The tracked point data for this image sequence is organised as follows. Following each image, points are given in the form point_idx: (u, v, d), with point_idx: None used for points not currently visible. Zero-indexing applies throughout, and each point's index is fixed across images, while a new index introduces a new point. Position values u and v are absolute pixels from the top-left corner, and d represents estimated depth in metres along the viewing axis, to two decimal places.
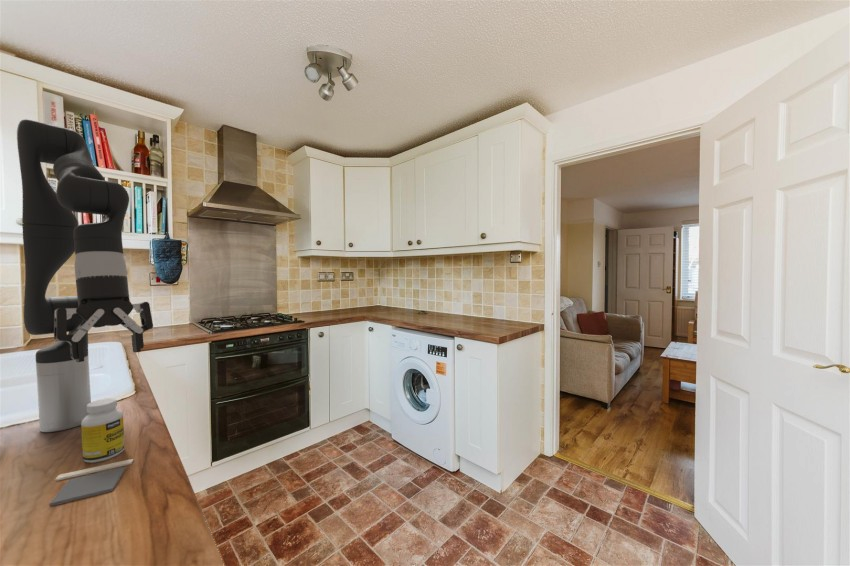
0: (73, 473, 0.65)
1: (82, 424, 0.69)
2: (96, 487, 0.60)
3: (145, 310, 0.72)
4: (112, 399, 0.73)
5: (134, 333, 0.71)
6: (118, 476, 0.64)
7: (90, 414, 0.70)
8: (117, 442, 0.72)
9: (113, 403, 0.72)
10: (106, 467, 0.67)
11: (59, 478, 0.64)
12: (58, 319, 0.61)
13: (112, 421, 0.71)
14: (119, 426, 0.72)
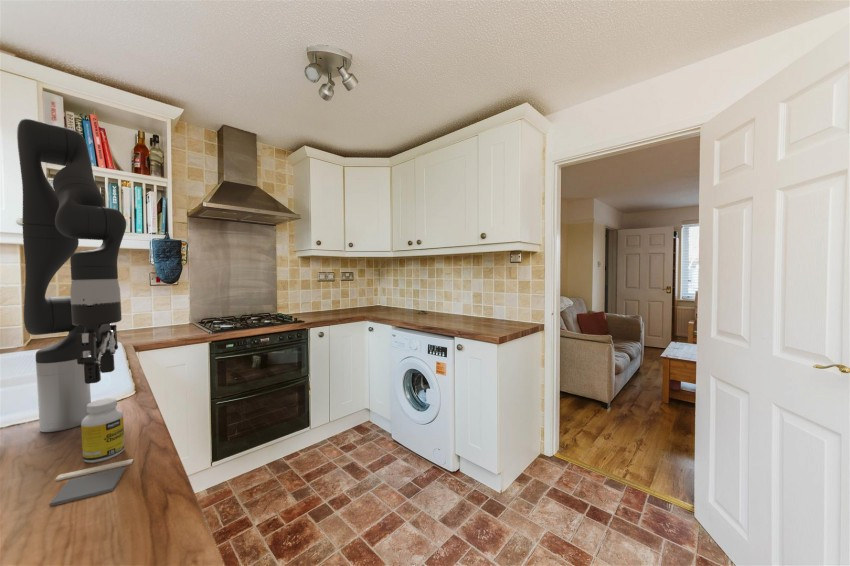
0: (73, 473, 0.65)
1: (82, 424, 0.69)
2: (96, 487, 0.60)
3: (115, 332, 0.77)
4: (112, 399, 0.73)
5: (107, 354, 0.75)
6: (118, 476, 0.64)
7: (90, 414, 0.70)
8: (117, 442, 0.72)
9: (113, 403, 0.72)
10: (106, 467, 0.67)
11: (59, 478, 0.64)
12: (93, 343, 0.66)
13: (112, 421, 0.71)
14: (119, 426, 0.72)
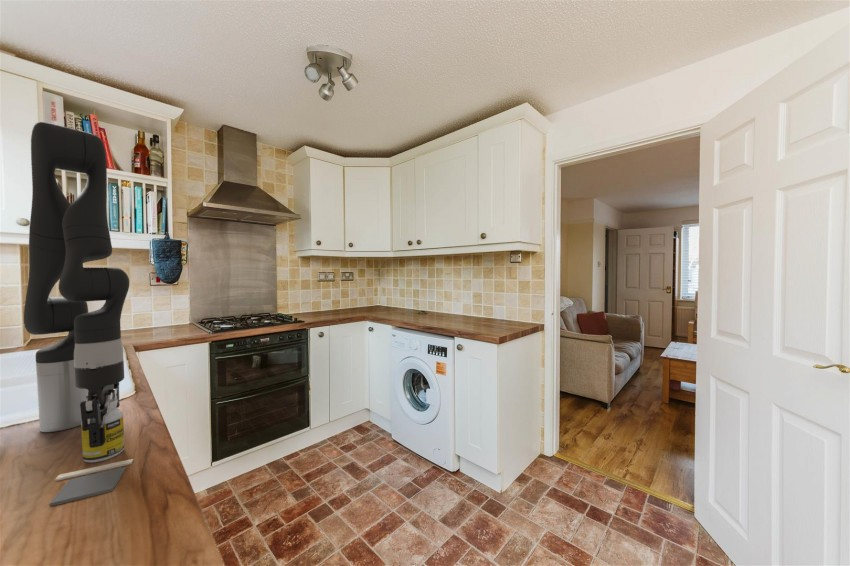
0: (73, 473, 0.65)
1: None
2: (96, 487, 0.60)
3: (117, 389, 0.77)
4: (112, 399, 0.73)
5: None
6: (118, 476, 0.64)
7: None
8: (117, 442, 0.72)
9: (113, 403, 0.72)
10: (106, 467, 0.67)
11: (59, 478, 0.64)
12: (97, 410, 0.66)
13: (112, 421, 0.71)
14: (119, 426, 0.72)
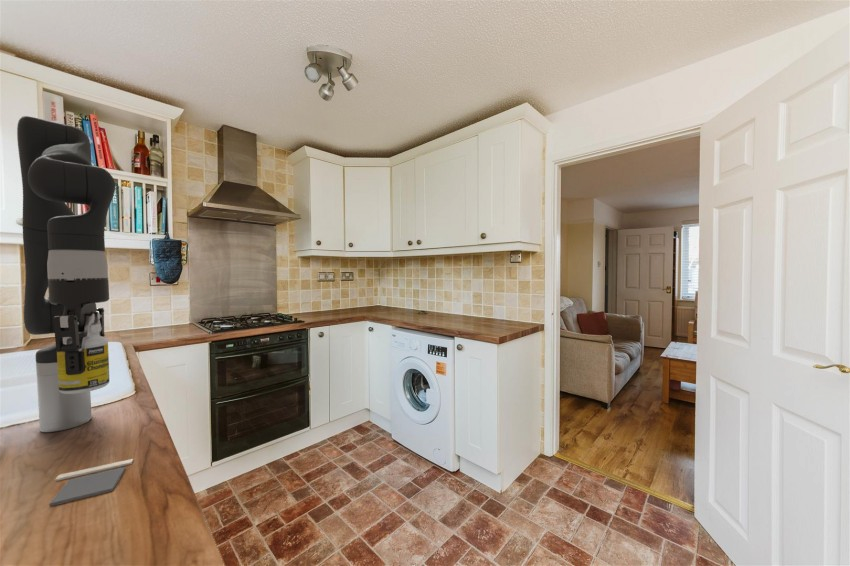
0: (73, 473, 0.65)
1: None
2: (96, 487, 0.60)
3: (102, 317, 0.66)
4: (95, 323, 0.62)
5: None
6: (118, 476, 0.64)
7: None
8: (101, 373, 0.60)
9: (96, 326, 0.60)
10: (106, 467, 0.67)
11: (59, 478, 0.64)
12: (75, 328, 0.55)
13: (94, 346, 0.59)
14: (103, 355, 0.61)
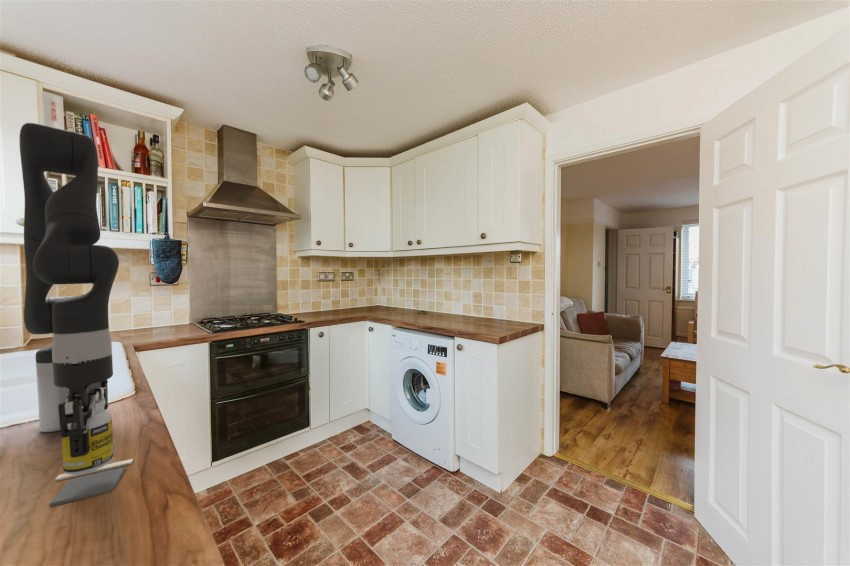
0: None
1: None
2: (96, 487, 0.60)
3: (105, 388, 0.66)
4: (99, 400, 0.62)
5: None
6: (118, 476, 0.64)
7: None
8: (105, 451, 0.61)
9: (100, 404, 0.61)
10: (106, 467, 0.67)
11: (59, 478, 0.64)
12: (79, 413, 0.56)
13: (98, 425, 0.60)
14: (107, 432, 0.61)
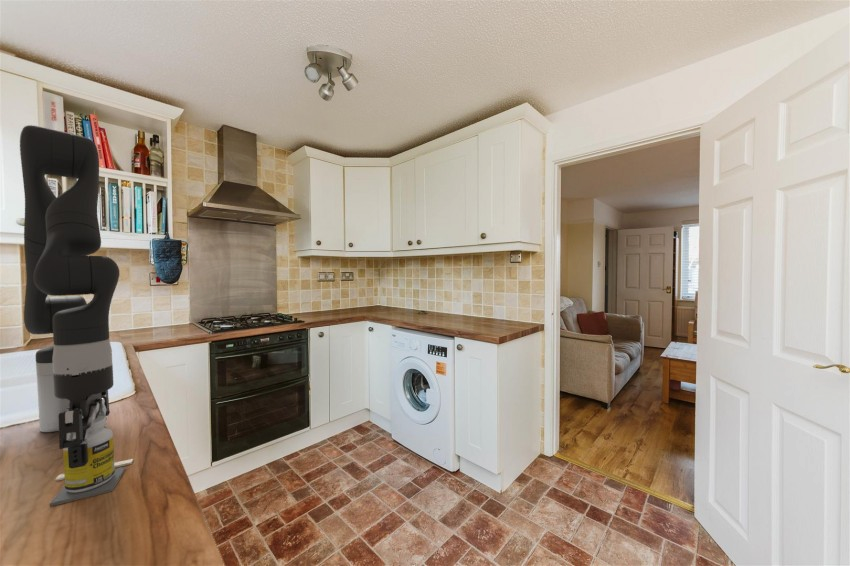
0: None
1: (64, 448, 0.59)
2: (96, 487, 0.60)
3: (106, 396, 0.67)
4: (100, 417, 0.63)
5: None
6: (118, 476, 0.64)
7: (73, 435, 0.59)
8: (106, 468, 0.61)
9: (101, 422, 0.61)
10: None
11: (59, 478, 0.64)
12: (79, 422, 0.55)
13: (100, 443, 0.60)
14: (108, 449, 0.62)
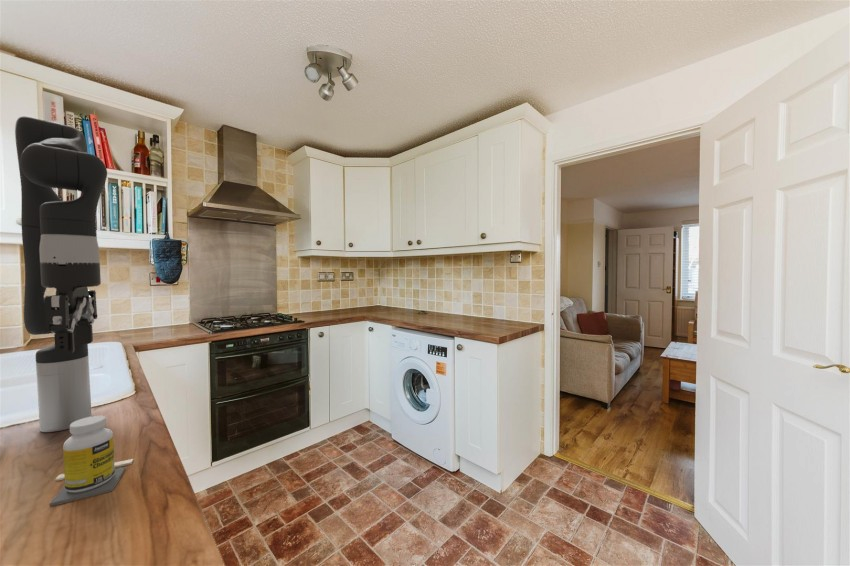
0: None
1: (64, 448, 0.59)
2: (96, 487, 0.60)
3: (94, 299, 0.68)
4: (101, 417, 0.63)
5: (84, 323, 0.66)
6: (118, 476, 0.64)
7: (74, 435, 0.59)
8: (106, 468, 0.61)
9: (101, 422, 0.61)
10: None
11: (59, 478, 0.64)
12: (65, 307, 0.56)
13: (100, 443, 0.60)
14: (108, 449, 0.62)
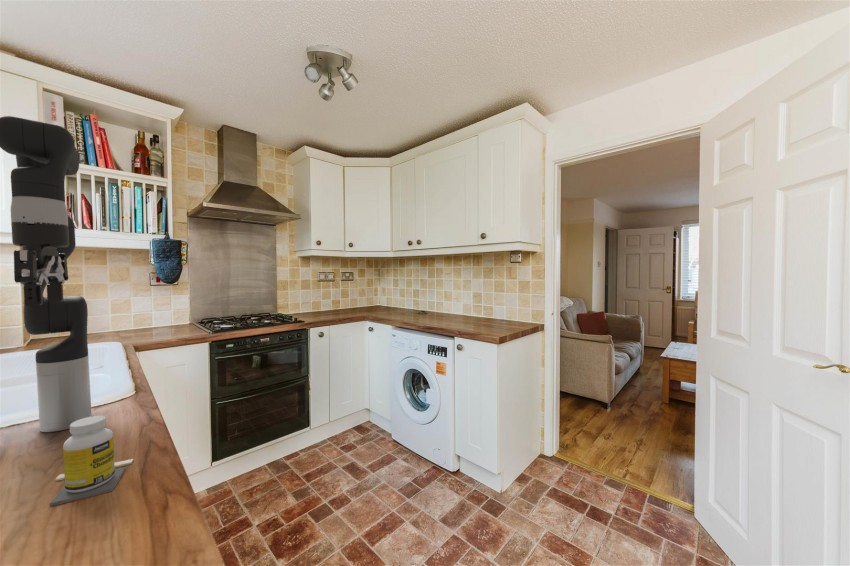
0: None
1: (64, 447, 0.59)
2: (96, 487, 0.60)
3: (65, 262, 0.73)
4: (101, 417, 0.63)
5: (55, 283, 0.71)
6: (118, 476, 0.64)
7: (74, 435, 0.59)
8: (106, 468, 0.61)
9: (101, 422, 0.61)
10: None
11: (59, 478, 0.64)
12: (33, 261, 0.62)
13: (100, 443, 0.60)
14: (108, 449, 0.62)
